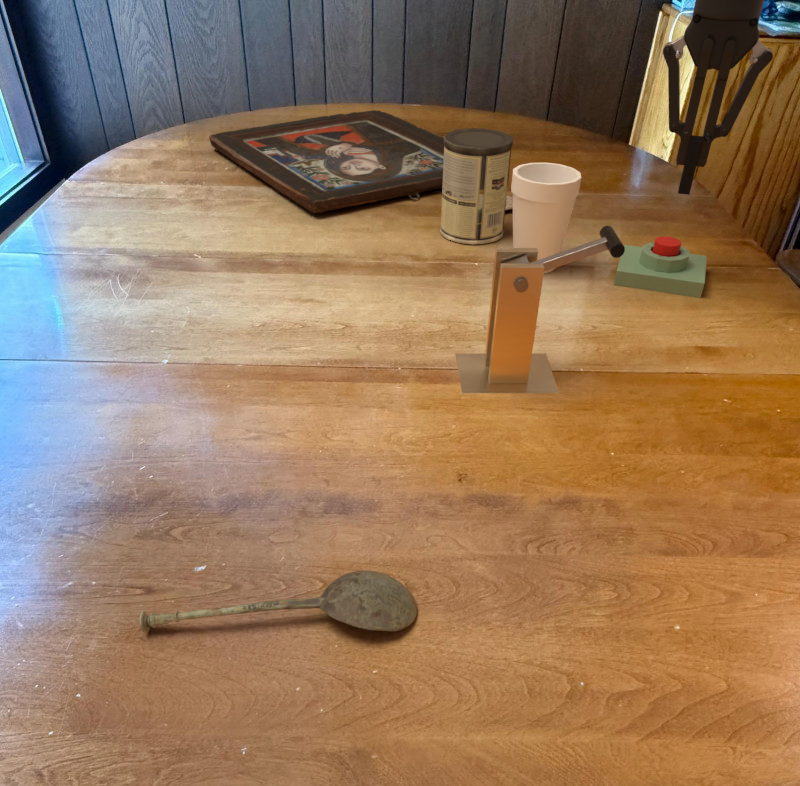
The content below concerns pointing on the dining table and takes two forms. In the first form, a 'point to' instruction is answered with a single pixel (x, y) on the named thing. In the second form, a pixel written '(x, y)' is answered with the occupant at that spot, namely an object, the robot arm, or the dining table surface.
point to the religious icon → (339, 158)
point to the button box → (661, 271)
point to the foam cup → (543, 205)
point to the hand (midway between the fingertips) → (684, 190)
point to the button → (666, 246)
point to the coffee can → (475, 185)
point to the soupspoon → (329, 604)
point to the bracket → (510, 333)
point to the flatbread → (509, 203)
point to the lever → (580, 251)
